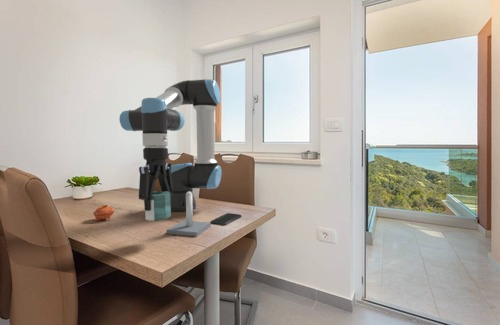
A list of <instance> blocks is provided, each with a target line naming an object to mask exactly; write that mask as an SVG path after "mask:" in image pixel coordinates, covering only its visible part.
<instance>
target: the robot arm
mask: <svg viewBox="0 0 500 325" xmlns="http://www.w3.org/2000/svg"><path fill="white" fill-rule="evenodd" d="M221 100H222V98H221V90H220V87H219V84H218V82H217V81H216V80H214V79H211V78H210V79H207V78H205V79H192V80H191V79H190V80H182V81H179V82H178V83H174V84H173V85H171V86H169V87H167V88H166V89H165V90H164V92H163V93H161V94H160V95H158V96H156V97H146V98H143V99H142V100H141V104H140V106H139V107H137V108H136V109H129V110H123V111H122V112H121V113H120V115H119V119H118V120H119V124H120V127H121V128H122V129H123V130H124V131H129V132H130V131H131V132H141V131H142V133H141V134H142V136H141V137H142V147H144V148H143V149H142V151H143V152H142V153H143V154H142V155H143V159H144V160H145V161H146V162H145V166H139V167H138V172H139V183H138V184H139V185H138V186H139V187H138V188H139V189H138V199H139V200H141V201H144V202H143V203H144V205H143V206H144V217H145V216H146V218H145V220H146V221H150V220H151V222H152V221H153V222H155V221H154V220H155V219H154V200H152V196H153V192H154V190H155V185H156V181H157V180H158V182H159V187H160V189H161V190H160V191H168V192H170V204H171V212H186V193H187V192H191V193H192V205H193V210H195V209H196V208H197V200H196V199H195V198H196V197H195V196H194V192H193V189H204V190H205V189H207V190H212V189H213V190H214V189H217V188H218V187H219V185H220V183H221V179H222V173H223V172H222V167H221V165H218V164H219V162H218V161H217V160H216V157H215V113H214V112H215V110H216V109H218V106H217V105H218V104H220V103H221ZM183 105H192V108H193V109H194V110H195V111H196V112H195V113H196V115H195V116H196V155H197V156H196V160H195V161H194V163H192V162H186V163H185V162H184V163H179V164H178V163H177V164H171V163H167V162H166V160H167V159H168V158H169V148H168V147H167V146H168V131H171V132H173V131H174V132H175V131H176V132H177V131H179V130H181V129H182V128H183V126H184V125H185V117H184V115H183V114H182V112H180V111H178V110H176V109H174V108H179V107H180V106H183ZM193 164H194V165H193ZM148 195H149V196H148Z"/></svg>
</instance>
